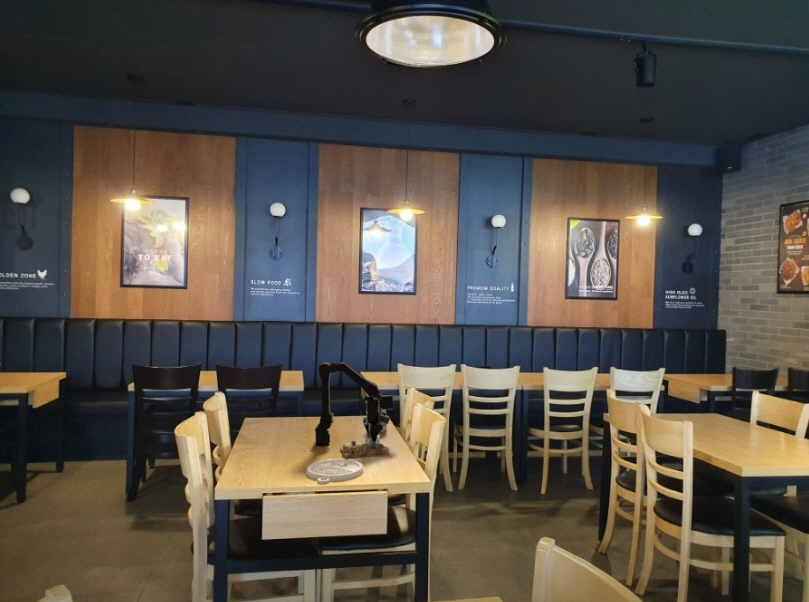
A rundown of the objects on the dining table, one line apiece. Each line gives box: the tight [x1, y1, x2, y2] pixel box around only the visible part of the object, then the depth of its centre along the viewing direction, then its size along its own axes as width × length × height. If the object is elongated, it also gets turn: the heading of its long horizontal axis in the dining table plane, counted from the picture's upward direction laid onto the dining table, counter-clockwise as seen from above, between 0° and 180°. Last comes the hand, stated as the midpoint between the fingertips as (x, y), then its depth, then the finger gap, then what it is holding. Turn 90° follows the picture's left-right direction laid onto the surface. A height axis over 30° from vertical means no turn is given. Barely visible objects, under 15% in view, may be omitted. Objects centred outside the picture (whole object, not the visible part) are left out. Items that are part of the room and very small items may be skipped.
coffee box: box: [378, 401, 388, 433], centre depth 306 cm, size 9×6×16 cm
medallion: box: [305, 458, 365, 485], centre depth 234 cm, size 24×27×2 cm
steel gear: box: [364, 434, 381, 445], centre depth 279 cm, size 7×7×4 cm
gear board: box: [340, 440, 390, 459], centre depth 264 cm, size 20×14×6 cm
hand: (372, 441), depth 279 cm, fingers open, 8 cm apart
